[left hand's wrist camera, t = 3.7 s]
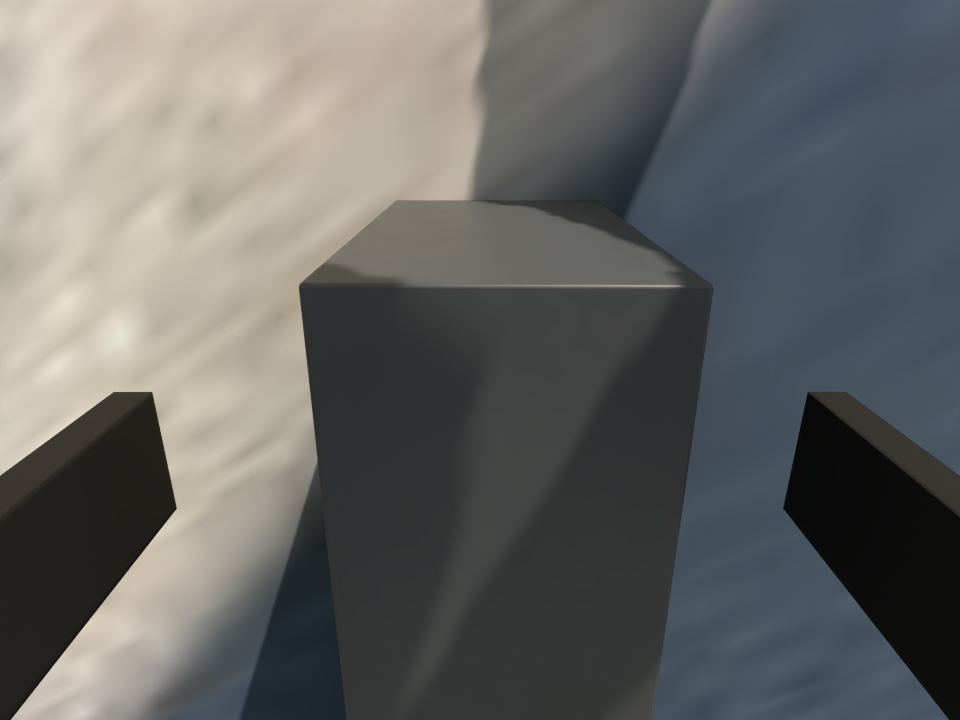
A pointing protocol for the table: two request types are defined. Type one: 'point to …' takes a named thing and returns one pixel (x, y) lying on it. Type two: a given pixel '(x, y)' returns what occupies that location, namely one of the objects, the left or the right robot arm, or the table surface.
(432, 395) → the beam
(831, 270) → the table surface
